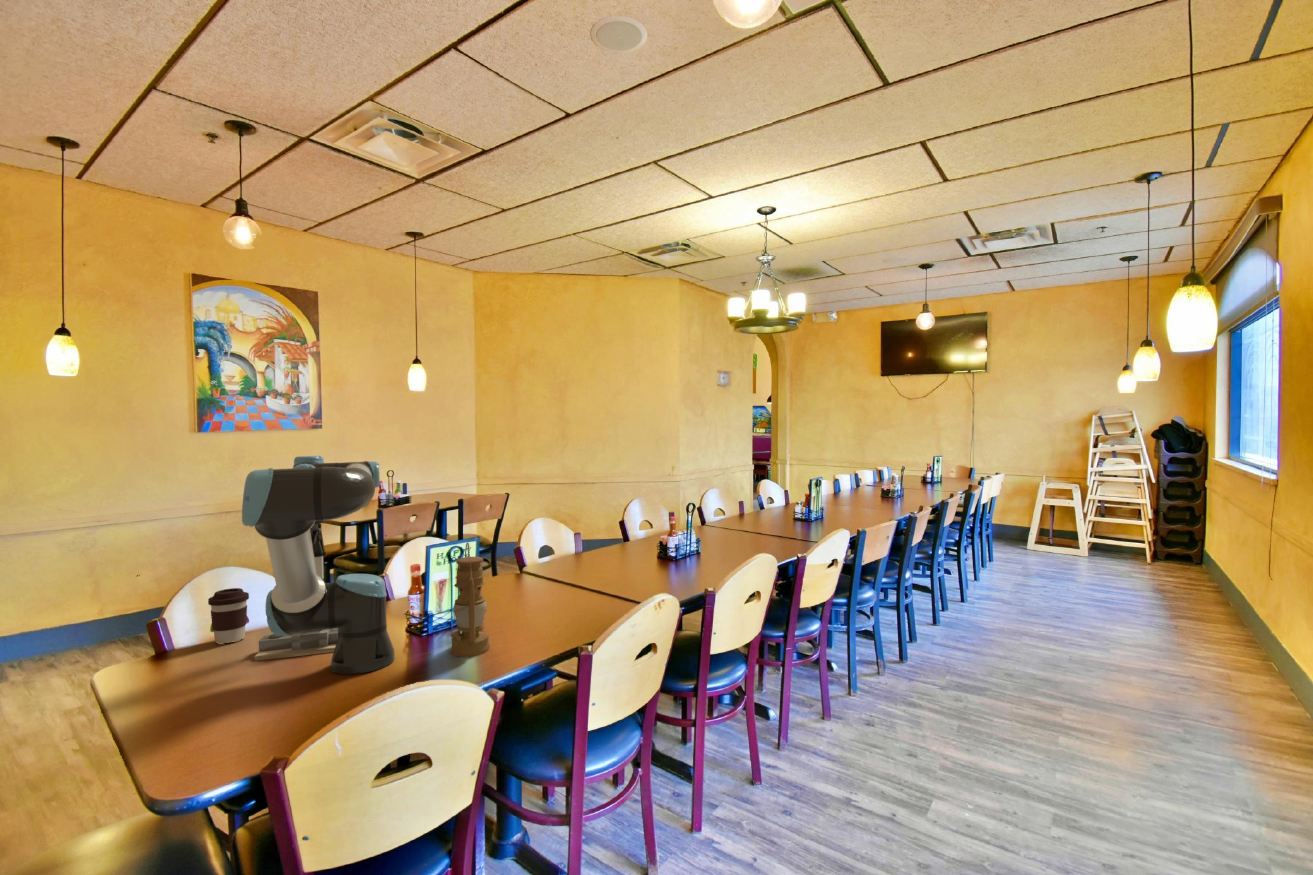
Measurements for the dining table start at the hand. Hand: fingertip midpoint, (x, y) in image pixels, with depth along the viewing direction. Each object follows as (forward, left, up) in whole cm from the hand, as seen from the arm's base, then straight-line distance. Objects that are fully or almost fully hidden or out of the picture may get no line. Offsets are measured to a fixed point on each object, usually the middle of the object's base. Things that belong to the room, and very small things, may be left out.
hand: (312, 584), depth 173 cm
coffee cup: (+16, +26, -19) cm, 36 cm away
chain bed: (0, 0, -18) cm, 18 cm away
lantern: (-17, -43, -19) cm, 50 cm away
